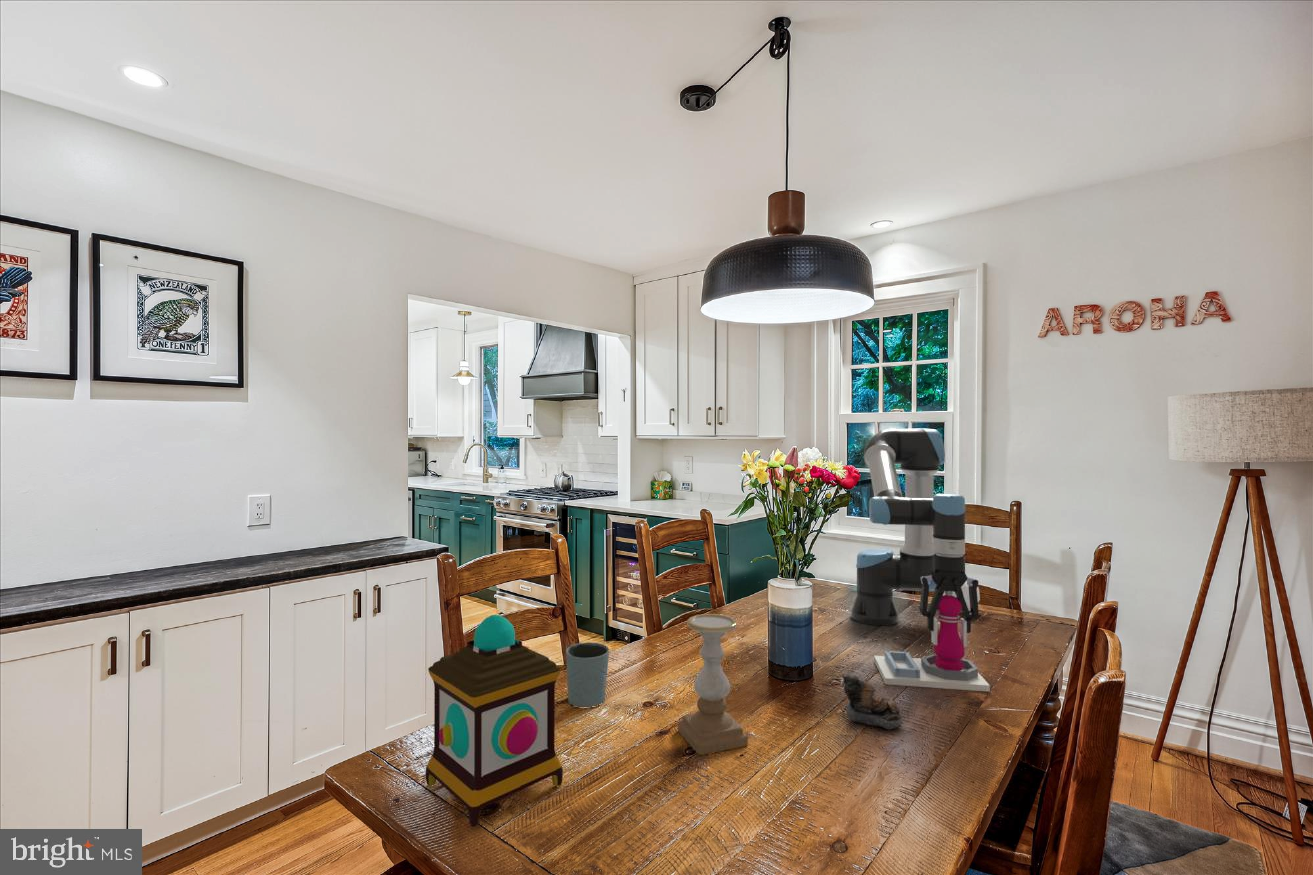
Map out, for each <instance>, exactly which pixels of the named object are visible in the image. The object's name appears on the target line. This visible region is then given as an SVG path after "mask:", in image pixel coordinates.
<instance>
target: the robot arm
mask: <svg viewBox="0 0 1313 875" xmlns="http://www.w3.org/2000/svg"><path fill="white" fill-rule="evenodd" d="M945 458H946V451H945V446H944V440H943V438H942V435H941V433H940V431H938V429H933V428H889V429H884V430H882V431H881V430H880V431H879V432H878V433H876V434H874V435H873V436H872V437H871V438H870V439H869V440H868V441H867V443H866V445H865V447H864V450H863V459H864V463H865V464H866V466H868V468H869V469H868V470H869V474H870V479H871V484H872V490H873V497H870V499H869V502H868V515H869V517H868V518H869V521H870V522H871V523H873V524H878V525H880V524H881V525H884V526H885V525H886V526H888V525H894V526H895V525H896V526H897V525H898V526H901V525H902V526H904V544H903V545H902V546H901V547H900V548H899V554H894V551H893V550H892V549H890V548H873V549H872V548H871V549H865V550H862V551H860V552H858V554H857V556H856V564H855V568H856V596H855V598H854V602H853V605H852V606H851V610H850V612H851V613H850V615H851V616H850V617H851V619H852V620H854V621H856V622H858V623H863V624H866V625H867V624H868V625H875V626H892V625H894V624H898V623H899V613H898V610H897V606H896V602H895V600H894V593H893V592H894V590H898V591H899V590H900V591H916V592H917V591H918V592H919V591H920V601H919V613H920V614H921V615H922V616H923V617H926V620H927V623H926V624H927V625H926V626H927V627H926V628H927V629H928V631H929V632H930V633H931V637H930V638H931V640H930V641H931V643H932V644H933V646H934V645H937V636H938V619H937V618H936V617H935V616H936V613H937V611H938V609H937V608H938V606H939V602H940V600H941V597H942V595H943V594H944V591H953V592H955V594H956V597H957V598H958V599H959V600H960V602H961V605H962V610H961V611H962V613H961V614H962V617H960V618H959V620H960V621H959V624H960V627H959V628H960V630H959V633H960V634H959V637H960V639H961V641H962V644H963V647H964V648H967V647H968V634H971V632H972V621H973V620H976V619H979V618H980V609H979V602H978V599H977V587H978V588H979V580H978V579H976V578H975V577H968V576H967V574H966V557H965V554H966V510H967V507H966V502H965V501H966V500H965V497H964V496H963V495H962V494H956V493H936V494H934V481H935V480H934V476H935V474H936V473H937V472H938V471H939V470H940V467H939V466H940V465H941V466H942V465H944V464H945V460H946V459H945ZM896 465H900V470H901V472H903V474H904V475H905V476H904V477H905V478H904V479H905V481H904V483H905V484H904V485H905V486H904V488H905V489H904V490H905V492H904V493H905V494H904V496H903V494H902V489H901V486H900V485H901V484H900V481H899V477H898V473H897V469H896ZM966 581H967V585H968V586H969V599H970V611H969V610H968V607H967V604H966V601H965V599H964V596H963V592H962V589H961V587H962V586H963V584H964V583H965V582H966ZM929 592H933V596H932V597H931V601H930V603H929V594H930V593H929ZM928 604H929V605H928ZM928 606H929V607H928Z"/></svg>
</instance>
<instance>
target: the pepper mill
mask: <svg viewBox="0 0 1313 875" xmlns="http://www.w3.org/2000/svg"><path fill="white" fill-rule="evenodd" d="M945 594H946V595H942V597H941V600H940V602H939V606H938V608H937V611H938V614H937V616H938V617H937V618H938V619H937V620H939V624H940V625H939V631H938V632H937V645H934V644H933V648H932V650H933V652H934V654H936V655H937V656H938V657H936V659H935V665H936V666H937V667H938V668H941V669H944V670H953V671H961V670H962V661H961V659H964V657H965V647H963V644H962V641H961V639H960V634H959V630H958V629H959V628H958V626H959V623H960V618H961V616H960V615H959V614H960V612H961V610H962V605H961V602H960V600H959V599H958V598H956V597H955V596H952V594H953V592H952V591H945Z"/></svg>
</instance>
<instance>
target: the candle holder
mask: <svg viewBox="0 0 1313 875" xmlns="http://www.w3.org/2000/svg"><path fill="white" fill-rule="evenodd" d="M686 621H687V622H686V624H687V626H688V628H690V629H691V630H693V631H695V632H698V633H699V634H700V636H701V638H702V640H703V644H702V646H701V648H700V650H699V652H698V653H699V655H700V656H701V658H702V660H703V666H702V668H701V669H700V671H699V673H698V675H697V676H696V678H695V679H694V684H693V689H694V692H695V693H696V694H697V696H698V697H699V698H698V700H697V701H696V706H697V709H698V710H697V711H695V712H694V713H689V714H685V715H683V716H682V720H680V721H678V722H677V732H678V731H679V732H680V733H679V732H678V733H679V735H680V734H681V735H682V736H683V737H684V738H685V739H684V738H683V737H682V736H681V735H680V736H681V737H682V738H683V739H684V741H685V740H686V741H687V742H688V743H689V744H690V745H689V744H688V743H687V742H686V741H685V742H686V743H687V744H688V745H689V746H690V748H691V747H692V748H693V749H694V750H695V751H696V752H695V751H694V750H693V749H692V748H691V749H692V750H693V751H694V752H695V753H696V754H697V755H698V754H699V755H698V756H704V755H703V754H707V755H710V754H709V753H712V754H714V753H713V752H717V753H721V751H722V752H724V751H723V750H727V751H731V749H732V750H734V749H733V748H737V749H741V748H745V747H744V746H746V747H748V746H749V745H748V743H749V741H748V738H749V737H748V735H747V734H746V733H745V732H744V731H743V730H744V729H743V727H742V726H741V725H740V723H739V722H737V721H736V720H735V718H733V717H732V716H731V715H730V714H729V713H728V712H726V710H727V709H728V703H727V700H726V699H725V698H726V697H727V696H728V695H729V693H730V691H731V684H730V681H729V679H728V677H727V675H726V674H725V672H724V670H723V668H722V666H721V661H722V659H723V657H724V656H725V654H726V653H725V650H724V648H723V647H722V644H721V642H722V641H721V640H722V639H723V637H724V635H725V634H726V633H729V632H731V631H732V632H733V631H734V630H735V629H736V628H737V627H738V622H737V620H736V618H733V617H732V616H728V615H724V614H717V613H703V614H695V615H693V616H690V617H689V618H687V620H686ZM740 747H741V748H740Z"/></svg>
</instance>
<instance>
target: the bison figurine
mask: <svg viewBox="0 0 1313 875" xmlns="http://www.w3.org/2000/svg"><path fill="white" fill-rule="evenodd" d="M842 679H843V680H842V682H843V683H844V689H843V690H844V693H845V694H846V697H847V699H848V701H849V702H847V704H846V705H845V712H846V716H847V718H849V719H850V720H851V721H854V722H858V723H861V724H865V725H868V726H873V727H879V728H884V729H886V730H893V729H895V728H897V727H899V726H900V725H902V724H903V718H902V716H900V712H901V711H900V709H899V706H898V704H897V703H896V702H895V701H894V700H893V699H892V698H891V697H888V696H885V695H884V694H882V693H881V692H880V691H878V690H877V689H876V688H875V687H874V686H873V685H872V684H871V683H870V682H868V681H866V680H865V679H862V678H861V679H859V677H858V676H857V675H855V674H853V673H849V674H846V675H845V674H843V675H842Z"/></svg>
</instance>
